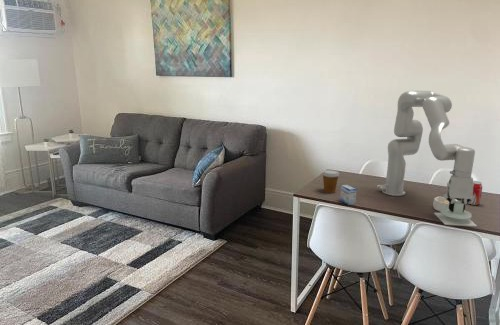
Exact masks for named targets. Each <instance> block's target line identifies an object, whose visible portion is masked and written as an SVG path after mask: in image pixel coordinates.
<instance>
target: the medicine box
mask: <svg viewBox="0 0 500 325" xmlns="http://www.w3.org/2000/svg"><path fill="white" fill-rule="evenodd" d="M357 190H358V189H357V188H355V187H353V186H351V185H350V184H343V185H341V186H340V195H339V201H340V202H342V203H344V204H346V205H348V206H350V205H355V204H356V202H357V200H356V199H357Z"/></svg>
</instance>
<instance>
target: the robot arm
mask: <svg viewBox="0 0 500 325" xmlns="http://www.w3.org/2000/svg"><path fill="white" fill-rule="evenodd" d="M452 106H453V103H452V99H450V98H449V97H448V96H446V95H444V94H440V93H437V92H435V91H433V90H432V91H431V90H408V91H404V92H403V93H401V94H400V96H399V97H398V99H397V113H396V116H395V123H394V128H393V133H394V136H396V137H398V138H395V139H391V140H390V141H389V143H388V145H387V154H388V155H387V156H388V159H387V161H388V162H387V167H386V168H387V169H386V176H385V177H386V178H385V183H383V184H377V185H376V188H377V189H380V190H381V192H382V193H383V194H386V195H388V196H393V197H395V196H396V197H402V196H405V195H406V191H405V190H404V181H405V174H406V164H407V163H406V160H405V158H404V156H413V155H416V154H418V152H419V149H420V145H421V141H422V137H423V131H424V128H423V124H422V122H421V121H420V120H418V119H414V115H415V114H414V109H413V108H422V109H423V112H424V114H425V117H426V119H427V121H428V124H429V127H430V132H429V135H428V145H429V148H430V151H431V153H432V155H433V157H434V158H435V159H436V160H438V161H440V162H441V161H442V162H444V161H454V163H453V169H452V170H450V171H449V174H450V178H449V180H448V182H449V183H448V187H447V186H446V191H445V192H444V193H443V194H442V197H444V198H446V199H447V200H448V201H449V210H450V211H451V212H453V209H454V204H453V203H454V200H455V199H457V200H458V199H461V202H462V203H463V204H464V207H463V212H464V210H466V205H467V203H468V202H469V201H470V200H472V199H474V198H475V197H474V195H473V181H474V178H473V177H472V173H473V166H474V160H475V155H476V151H475V149H474V148H472V147H467V146H463V145H461V144H458V143H451V144H450V143H449V144H448V143H447V144H444V142H443V140H442V136H441V133H442V131H443V130H444V129H446V128H448V126H450V120H449V118H448V116H447V113H449V112H450V111H451V109H452Z"/></svg>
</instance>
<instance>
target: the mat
mask: <svg viewBox="0 0 500 325" xmlns="http://www.w3.org/2000/svg"><path fill="white" fill-rule="evenodd" d="M433 215H435V216H436V217H437V218H438V219H439V220H440V221H441V222H442V223H443V224H444V225H445V226H446V225H447V226H460V227H461V226H462V227H475V228H476V227H478V225H477V224H476V223H474V221H473V220H471V218H470V219H455V218H450V217H447V216H445V215H443V214H442V213H441V212H434V213H433Z"/></svg>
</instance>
